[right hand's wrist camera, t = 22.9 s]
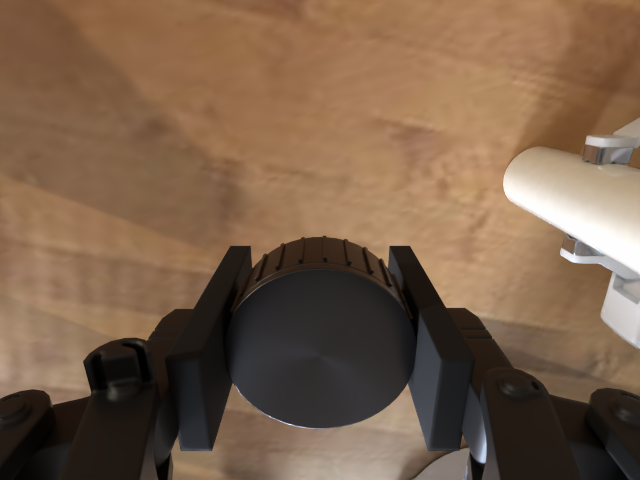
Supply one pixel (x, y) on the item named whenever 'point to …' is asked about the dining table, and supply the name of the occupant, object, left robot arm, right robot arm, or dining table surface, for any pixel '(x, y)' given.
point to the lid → (320, 334)
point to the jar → (580, 199)
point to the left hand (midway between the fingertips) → (578, 201)
